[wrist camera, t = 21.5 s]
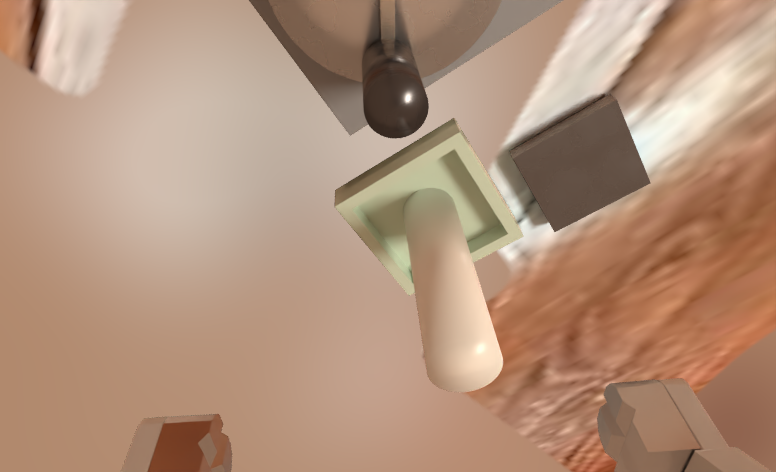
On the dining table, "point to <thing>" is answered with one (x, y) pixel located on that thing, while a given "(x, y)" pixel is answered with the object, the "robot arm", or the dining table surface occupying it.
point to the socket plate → (581, 163)
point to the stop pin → (449, 296)
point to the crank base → (346, 94)
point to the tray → (419, 171)
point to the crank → (386, 47)
